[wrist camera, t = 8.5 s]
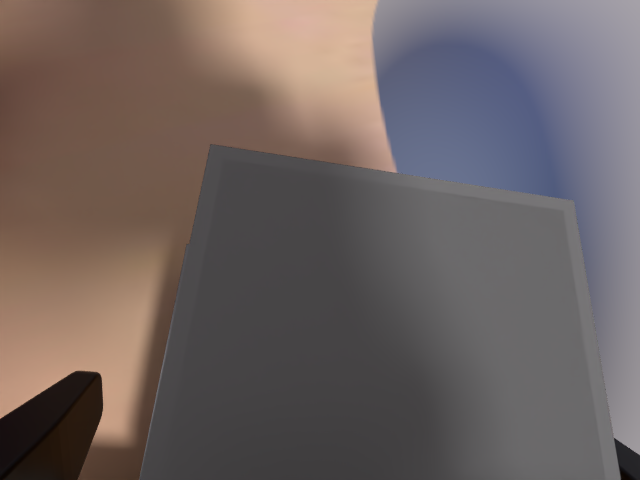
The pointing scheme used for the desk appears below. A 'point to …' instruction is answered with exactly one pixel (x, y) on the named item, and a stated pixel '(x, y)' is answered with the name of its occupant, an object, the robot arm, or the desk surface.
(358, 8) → the desk surface
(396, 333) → the tan rectangular column
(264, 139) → the desk surface
